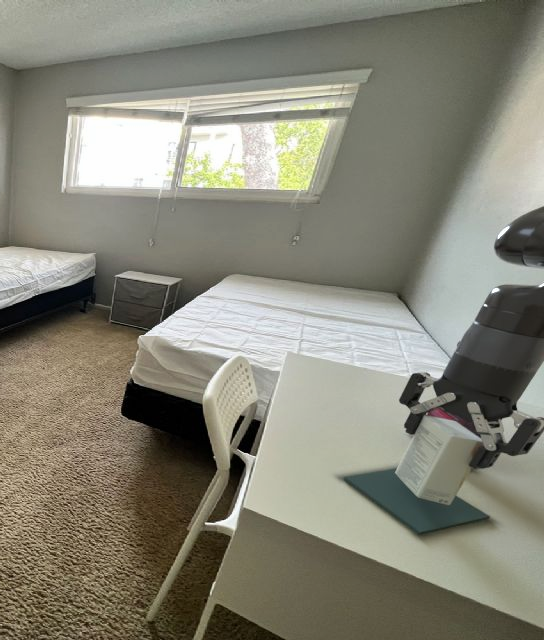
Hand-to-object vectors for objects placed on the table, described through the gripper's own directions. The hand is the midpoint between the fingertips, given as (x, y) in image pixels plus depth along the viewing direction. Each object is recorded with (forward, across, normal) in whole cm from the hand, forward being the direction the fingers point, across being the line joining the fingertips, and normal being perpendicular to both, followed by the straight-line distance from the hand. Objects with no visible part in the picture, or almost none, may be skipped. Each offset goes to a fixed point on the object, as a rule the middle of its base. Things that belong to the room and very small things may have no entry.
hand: (441, 448), depth 56 cm
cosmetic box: (+8, 0, 0) cm, 8 cm away
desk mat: (+11, 0, 0) cm, 11 cm away
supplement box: (+11, +8, -22) cm, 26 cm away
